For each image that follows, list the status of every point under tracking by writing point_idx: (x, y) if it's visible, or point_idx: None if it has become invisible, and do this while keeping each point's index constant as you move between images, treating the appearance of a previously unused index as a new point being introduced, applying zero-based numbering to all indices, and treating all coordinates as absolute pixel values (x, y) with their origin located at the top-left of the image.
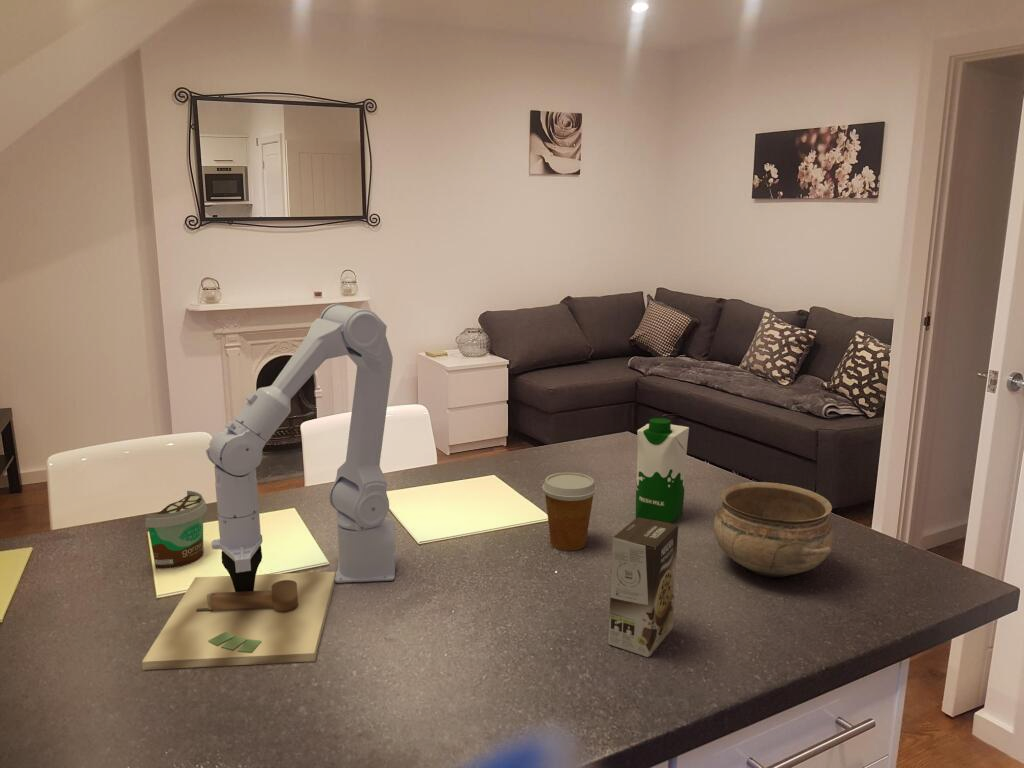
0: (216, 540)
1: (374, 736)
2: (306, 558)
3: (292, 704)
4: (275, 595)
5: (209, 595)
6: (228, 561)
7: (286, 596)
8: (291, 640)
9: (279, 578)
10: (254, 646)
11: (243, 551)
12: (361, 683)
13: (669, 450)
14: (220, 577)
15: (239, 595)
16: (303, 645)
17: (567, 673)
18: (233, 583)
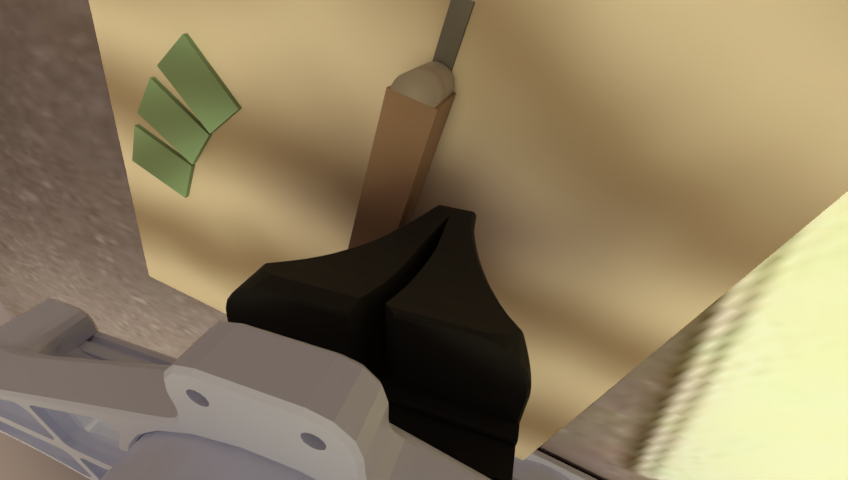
0: (320, 458)
1: (7, 258)
2: (743, 464)
3: (36, 185)
4: None
5: (411, 88)
6: (227, 315)
7: None
8: (194, 257)
9: (582, 362)
10: (157, 173)
11: (72, 454)
12: (113, 295)
13: None
14: (831, 182)
15: (360, 220)
16: (175, 270)
17: None
18: (391, 232)
